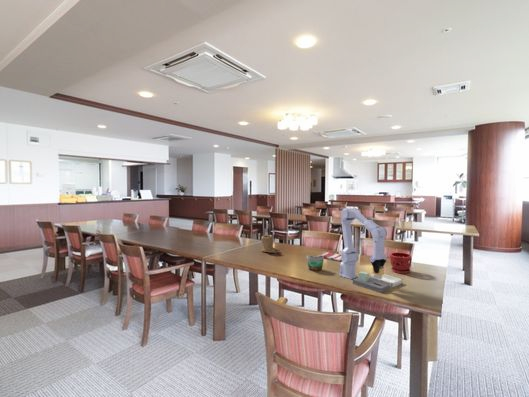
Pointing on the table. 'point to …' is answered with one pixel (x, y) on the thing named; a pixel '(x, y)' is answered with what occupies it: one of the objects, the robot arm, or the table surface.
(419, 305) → the table surface
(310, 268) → the food container
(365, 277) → the fuse
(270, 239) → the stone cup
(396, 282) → the parts tray
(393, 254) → the plant pot
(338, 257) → the dish towel
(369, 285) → the grey flat slab
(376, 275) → the fuse
